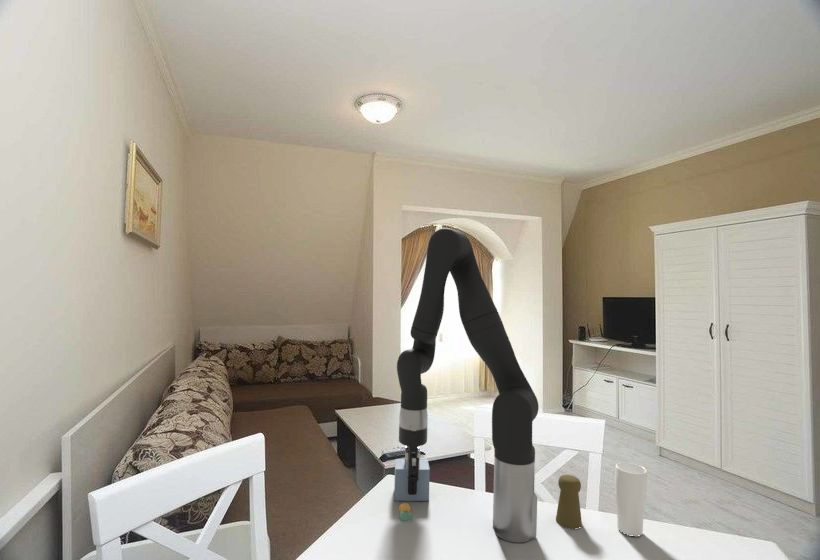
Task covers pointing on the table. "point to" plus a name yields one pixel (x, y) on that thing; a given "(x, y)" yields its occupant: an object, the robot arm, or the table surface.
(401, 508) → the amber marble
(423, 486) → the blue-grey block
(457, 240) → the robot arm
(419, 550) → the table surface
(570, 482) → the cork
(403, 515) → the green marble
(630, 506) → the drinking glass
